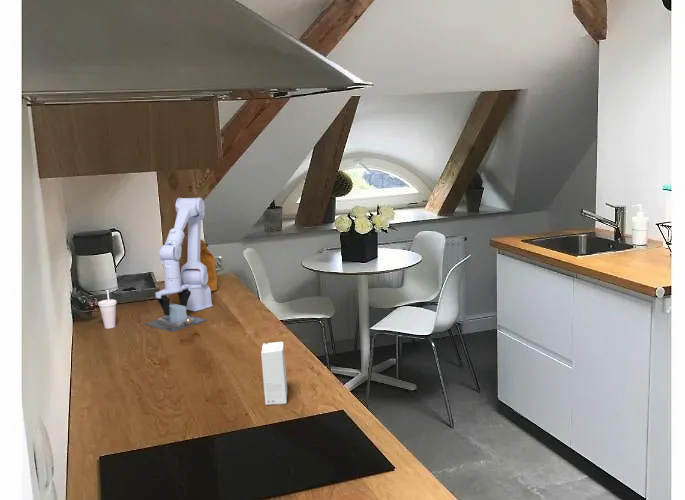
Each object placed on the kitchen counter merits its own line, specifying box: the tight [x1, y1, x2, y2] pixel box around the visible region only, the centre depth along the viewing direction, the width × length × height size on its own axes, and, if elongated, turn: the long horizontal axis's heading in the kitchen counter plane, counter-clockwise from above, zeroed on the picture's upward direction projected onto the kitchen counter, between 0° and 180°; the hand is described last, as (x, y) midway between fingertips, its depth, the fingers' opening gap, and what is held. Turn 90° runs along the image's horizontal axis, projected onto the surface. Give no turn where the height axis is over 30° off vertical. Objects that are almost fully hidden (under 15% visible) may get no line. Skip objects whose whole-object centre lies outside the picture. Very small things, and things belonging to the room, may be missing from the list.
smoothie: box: [97, 289, 117, 329], centre depth 255 cm, size 6×6×14 cm
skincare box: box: [260, 341, 288, 406], centre depth 185 cm, size 8×6×15 cm
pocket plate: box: [145, 314, 208, 333], centre depth 258 cm, size 16×16×3 cm
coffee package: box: [192, 238, 218, 292], centre depth 303 cm, size 10×12×22 cm
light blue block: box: [163, 303, 188, 323], centre depth 258 cm, size 8×4×6 cm, turn 51°
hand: (175, 312), depth 258 cm, fingers open, 7 cm apart
